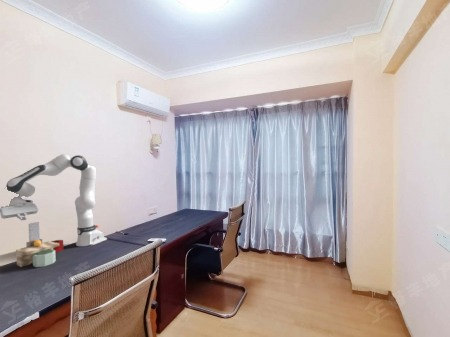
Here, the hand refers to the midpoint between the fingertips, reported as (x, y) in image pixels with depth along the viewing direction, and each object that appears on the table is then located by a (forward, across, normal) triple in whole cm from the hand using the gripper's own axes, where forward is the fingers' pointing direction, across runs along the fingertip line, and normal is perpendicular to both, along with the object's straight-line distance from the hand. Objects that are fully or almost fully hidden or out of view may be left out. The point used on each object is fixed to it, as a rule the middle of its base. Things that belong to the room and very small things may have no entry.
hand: (23, 219), depth 159 cm
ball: (+23, 0, -2) cm, 23 cm away
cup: (+37, 0, +1) cm, 37 cm away
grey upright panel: (+21, 0, +2) cm, 21 cm away
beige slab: (+32, 0, +6) cm, 32 cm away
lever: (+23, +13, +15) cm, 30 cm away
